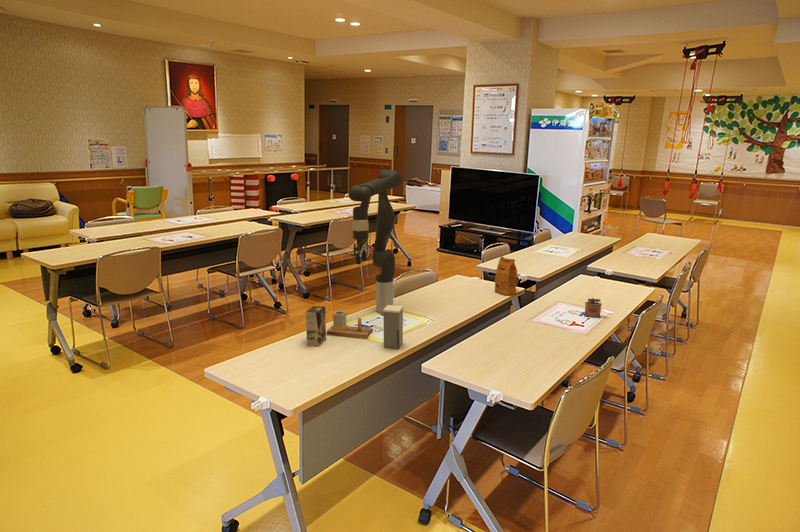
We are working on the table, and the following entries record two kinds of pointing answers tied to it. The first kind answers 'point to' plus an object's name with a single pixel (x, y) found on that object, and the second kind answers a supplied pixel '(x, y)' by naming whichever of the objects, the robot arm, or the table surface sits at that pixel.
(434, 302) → the table surface
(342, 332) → the pin block
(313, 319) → the coffee box
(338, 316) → the sleeve
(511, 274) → the coffee package
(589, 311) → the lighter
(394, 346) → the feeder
